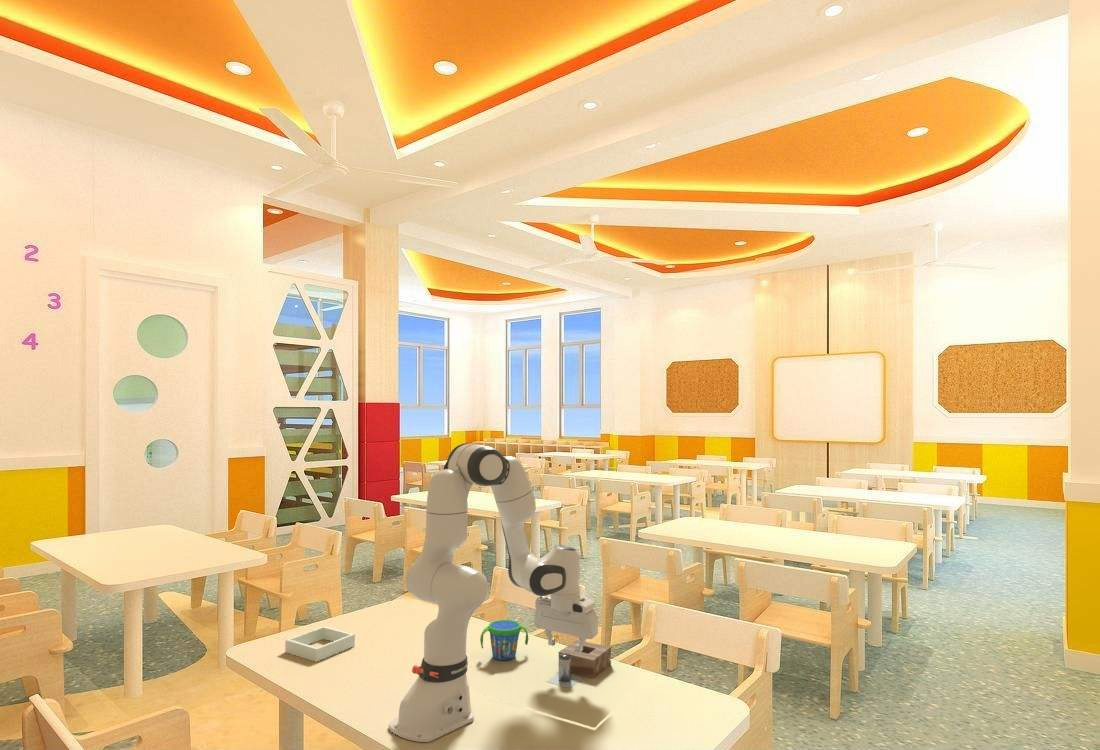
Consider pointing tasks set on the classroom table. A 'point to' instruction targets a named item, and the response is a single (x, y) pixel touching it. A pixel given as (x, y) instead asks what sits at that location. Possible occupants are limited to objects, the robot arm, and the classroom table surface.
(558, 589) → the robot arm
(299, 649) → the coaster tray
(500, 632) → the snack cup
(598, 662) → the socket block
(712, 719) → the classroom table surface
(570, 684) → the mount plate
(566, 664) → the pin
